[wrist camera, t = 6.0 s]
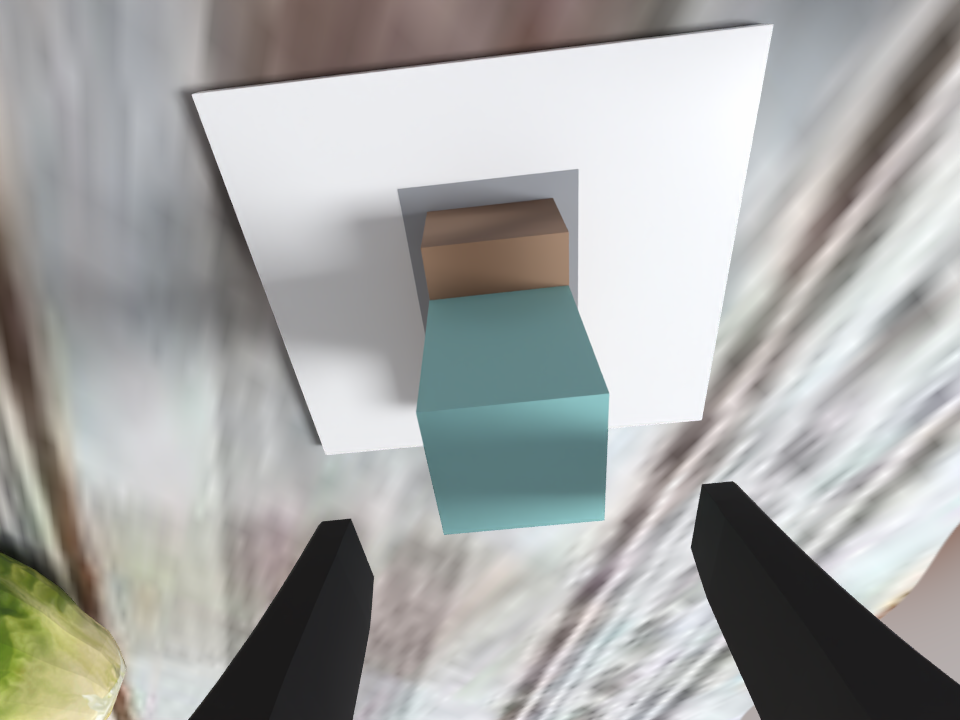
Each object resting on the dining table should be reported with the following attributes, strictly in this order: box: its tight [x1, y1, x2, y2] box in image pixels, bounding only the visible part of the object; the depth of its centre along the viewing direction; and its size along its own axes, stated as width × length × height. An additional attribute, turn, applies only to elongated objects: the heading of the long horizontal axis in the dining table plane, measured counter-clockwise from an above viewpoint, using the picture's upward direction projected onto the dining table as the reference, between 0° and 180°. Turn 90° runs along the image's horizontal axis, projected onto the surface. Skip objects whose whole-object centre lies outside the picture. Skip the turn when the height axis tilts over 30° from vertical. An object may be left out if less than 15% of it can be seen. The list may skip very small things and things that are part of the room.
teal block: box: [416, 285, 609, 535], centre depth 14 cm, size 4×4×5 cm
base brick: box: [421, 198, 569, 300], centre depth 17 cm, size 4×8×3 cm, turn 6°
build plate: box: [192, 24, 773, 455], centre depth 18 cm, size 16×14×1 cm
